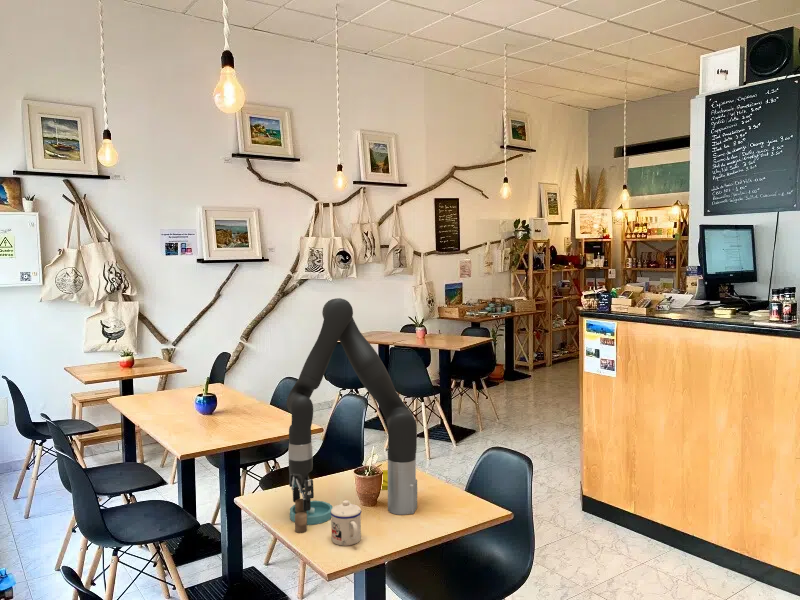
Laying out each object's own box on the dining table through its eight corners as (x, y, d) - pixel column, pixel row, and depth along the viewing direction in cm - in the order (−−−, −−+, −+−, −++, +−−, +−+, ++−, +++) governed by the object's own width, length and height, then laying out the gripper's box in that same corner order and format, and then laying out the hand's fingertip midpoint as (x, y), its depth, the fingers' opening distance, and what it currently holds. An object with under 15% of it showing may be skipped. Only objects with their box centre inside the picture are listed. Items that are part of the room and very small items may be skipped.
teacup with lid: (326, 536, 192) (325, 498, 191) (354, 530, 196) (353, 493, 195) (341, 553, 181) (341, 513, 180) (370, 546, 185) (370, 507, 184)
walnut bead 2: (308, 528, 197) (308, 512, 197) (304, 533, 194) (304, 517, 193) (297, 527, 198) (297, 511, 198) (293, 532, 195) (292, 516, 194)
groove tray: (338, 509, 212) (338, 502, 212) (323, 526, 198) (323, 519, 198) (300, 506, 215) (299, 499, 215) (283, 522, 202) (282, 515, 202)
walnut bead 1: (304, 512, 207) (304, 497, 207) (308, 516, 204) (308, 501, 204) (293, 515, 205) (293, 499, 205) (297, 519, 202) (297, 503, 202)
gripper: (320, 460, 199) (321, 511, 200) (302, 448, 211) (303, 496, 213) (298, 464, 195) (299, 516, 196) (281, 452, 208) (282, 501, 209)
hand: (301, 505), depth 205 cm, fingers open, 8 cm apart
